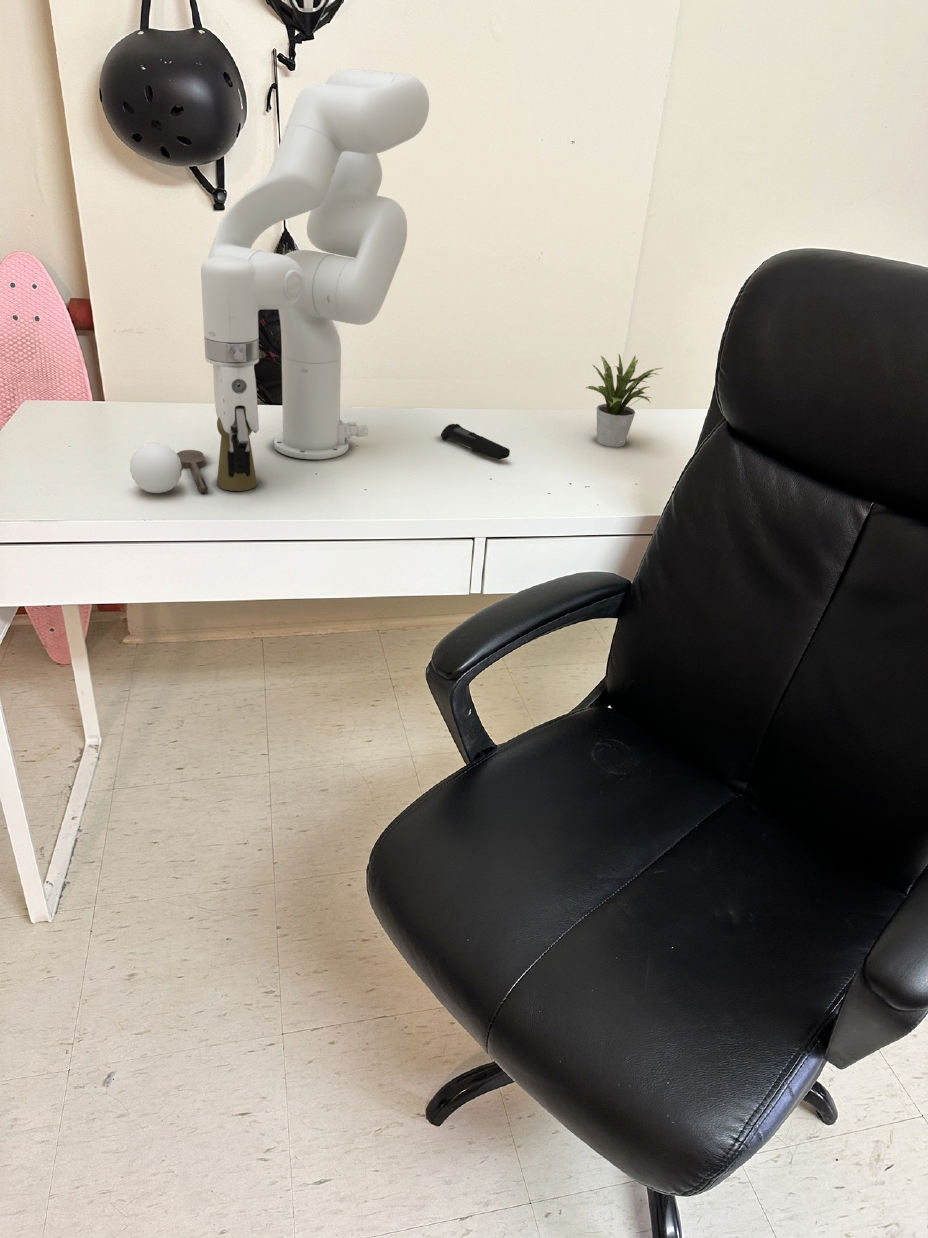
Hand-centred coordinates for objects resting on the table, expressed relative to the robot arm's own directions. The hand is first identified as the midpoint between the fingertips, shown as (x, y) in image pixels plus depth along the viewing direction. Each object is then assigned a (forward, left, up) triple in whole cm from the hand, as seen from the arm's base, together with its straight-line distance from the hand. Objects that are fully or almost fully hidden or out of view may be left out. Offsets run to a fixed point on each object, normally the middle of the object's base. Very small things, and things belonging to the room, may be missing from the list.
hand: (236, 469), depth 144 cm
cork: (0, 0, -2) cm, 2 cm away
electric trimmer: (-43, -8, -3) cm, 44 cm away
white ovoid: (+12, -1, -3) cm, 12 cm away
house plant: (-70, -6, -3) cm, 70 cm away
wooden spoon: (+5, -5, -2) cm, 8 cm away
